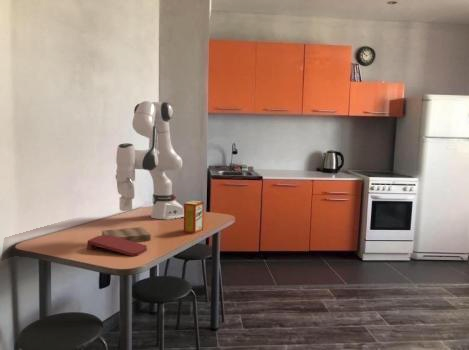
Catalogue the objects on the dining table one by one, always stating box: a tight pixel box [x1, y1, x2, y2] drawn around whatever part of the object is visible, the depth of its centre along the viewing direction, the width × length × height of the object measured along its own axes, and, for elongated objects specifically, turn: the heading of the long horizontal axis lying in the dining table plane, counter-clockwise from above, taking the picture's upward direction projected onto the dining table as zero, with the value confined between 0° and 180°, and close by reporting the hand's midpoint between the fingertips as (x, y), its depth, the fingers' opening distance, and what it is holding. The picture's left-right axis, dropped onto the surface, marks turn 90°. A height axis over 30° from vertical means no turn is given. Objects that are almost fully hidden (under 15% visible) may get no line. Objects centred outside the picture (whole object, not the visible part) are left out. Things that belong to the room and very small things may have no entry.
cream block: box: [119, 196, 133, 212], centre depth 199 cm, size 5×5×6 cm
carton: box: [86, 234, 148, 257], centre depth 181 cm, size 12×5×25 cm
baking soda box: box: [183, 200, 204, 235], centre depth 218 cm, size 10×6×16 cm
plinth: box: [101, 226, 152, 243], centre depth 201 cm, size 20×16×3 cm
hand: (125, 205), depth 199 cm, fingers closed on cream block, 5 cm apart
